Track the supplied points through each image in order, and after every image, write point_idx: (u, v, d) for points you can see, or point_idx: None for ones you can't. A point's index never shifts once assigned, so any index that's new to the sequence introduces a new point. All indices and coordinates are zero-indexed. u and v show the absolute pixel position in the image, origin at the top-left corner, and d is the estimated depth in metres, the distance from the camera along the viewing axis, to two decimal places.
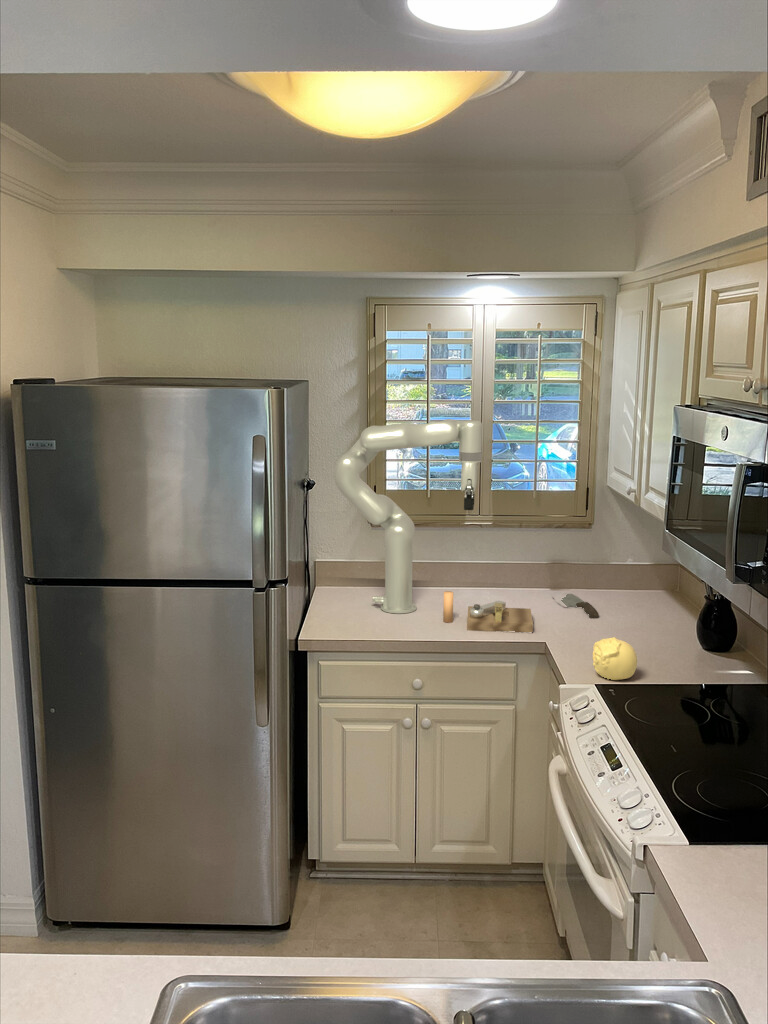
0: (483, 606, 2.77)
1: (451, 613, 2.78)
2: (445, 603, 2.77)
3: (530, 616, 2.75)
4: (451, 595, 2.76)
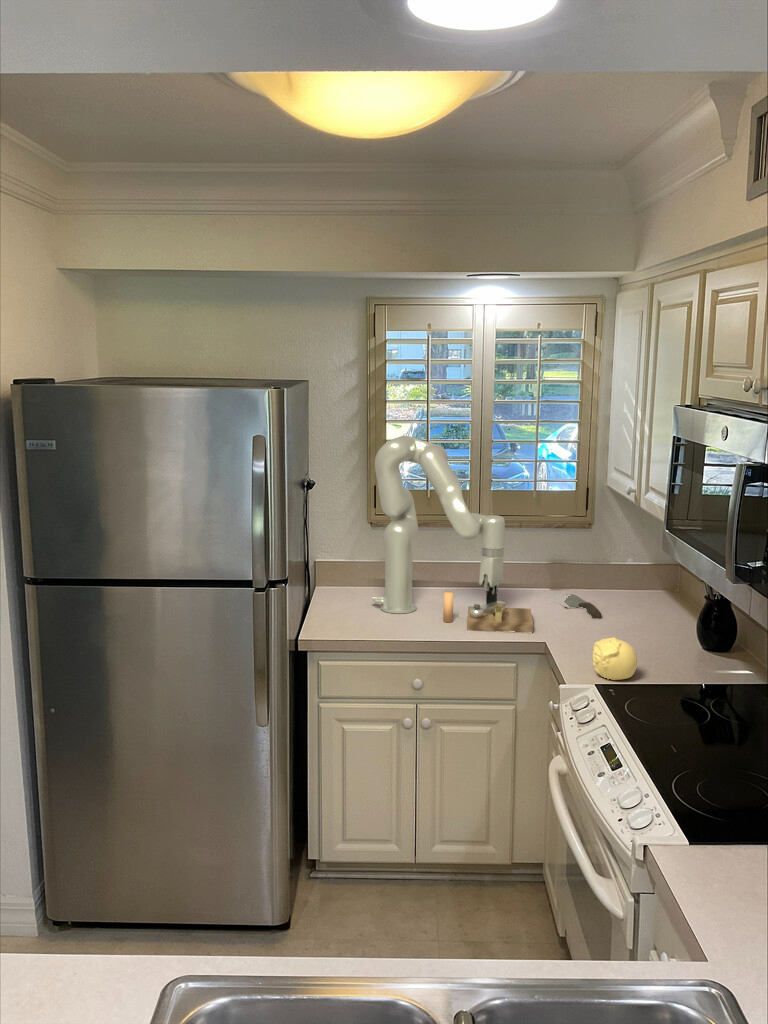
0: (483, 606, 2.77)
1: (451, 613, 2.78)
2: (445, 603, 2.77)
3: (530, 616, 2.75)
4: (451, 595, 2.76)
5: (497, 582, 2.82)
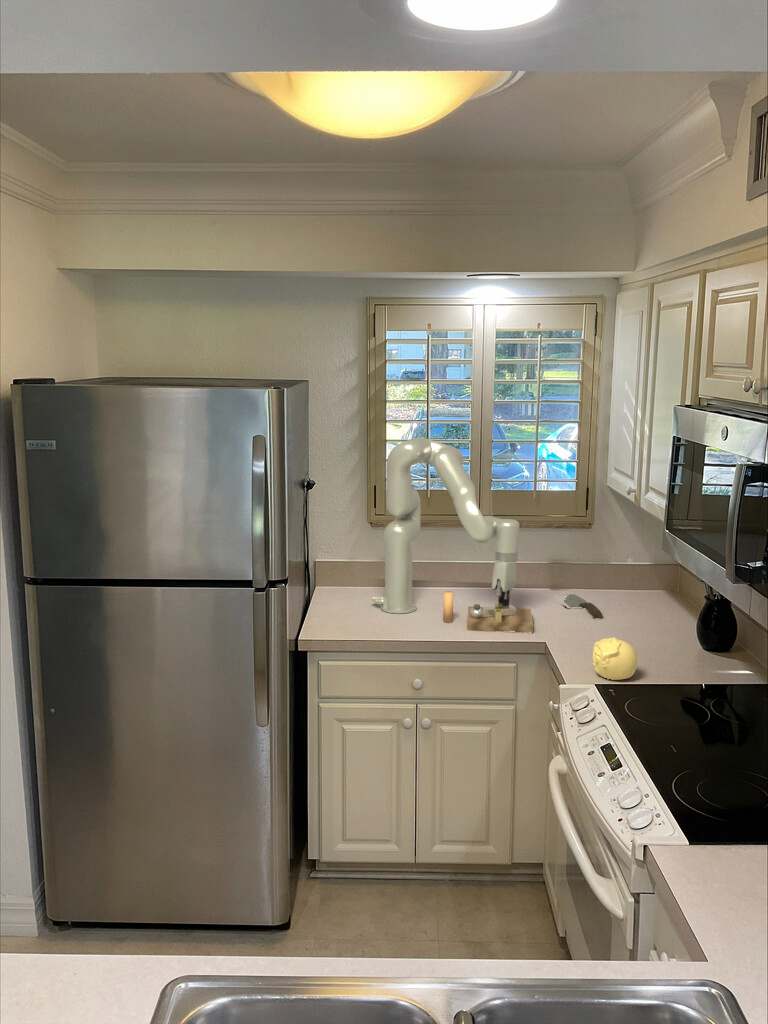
0: (487, 608, 2.75)
1: (451, 613, 2.78)
2: (445, 603, 2.77)
3: (530, 616, 2.75)
4: (451, 595, 2.76)
5: (510, 587, 2.77)
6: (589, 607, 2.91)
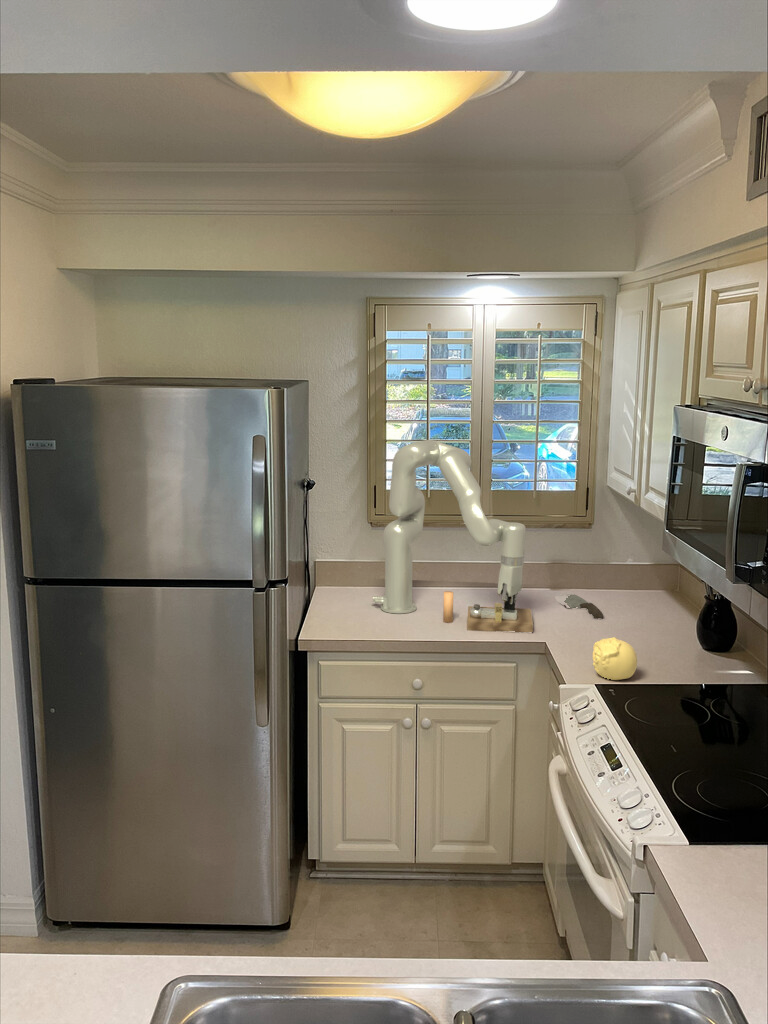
0: (488, 609, 2.74)
1: (451, 613, 2.78)
2: (445, 603, 2.77)
3: (530, 616, 2.75)
4: (451, 595, 2.76)
5: (516, 591, 2.73)
6: (590, 607, 2.90)
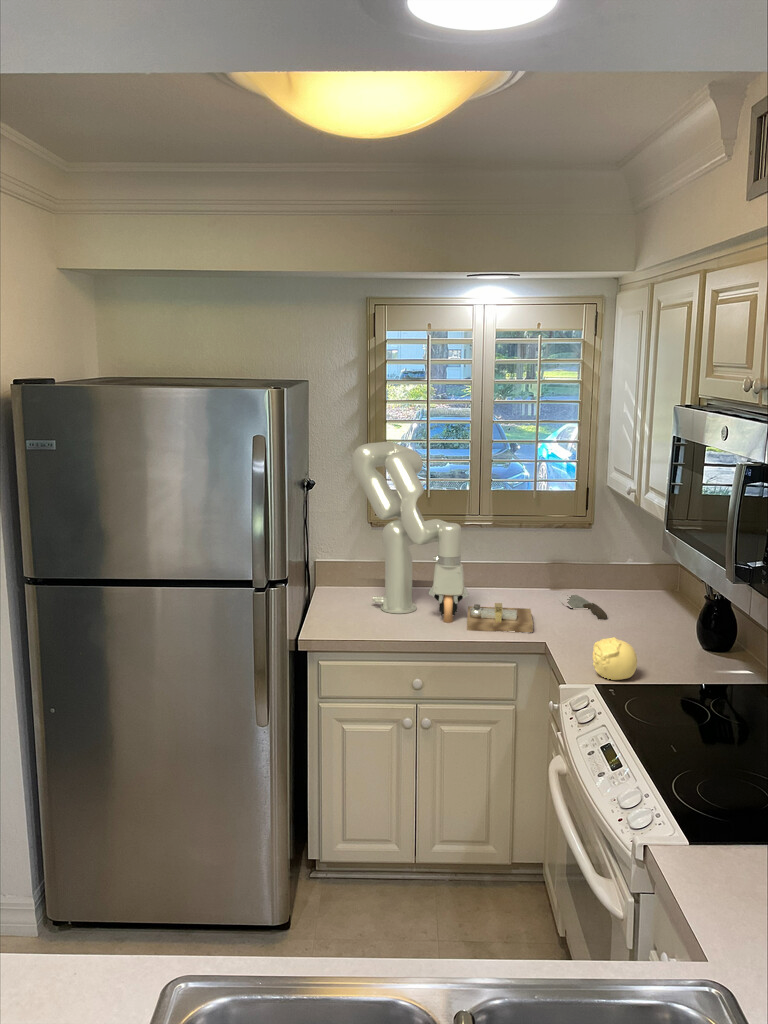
0: (488, 609, 2.74)
1: (451, 613, 2.78)
2: (445, 603, 2.77)
3: (530, 616, 2.75)
4: (451, 595, 2.76)
5: None
6: (593, 608, 2.90)
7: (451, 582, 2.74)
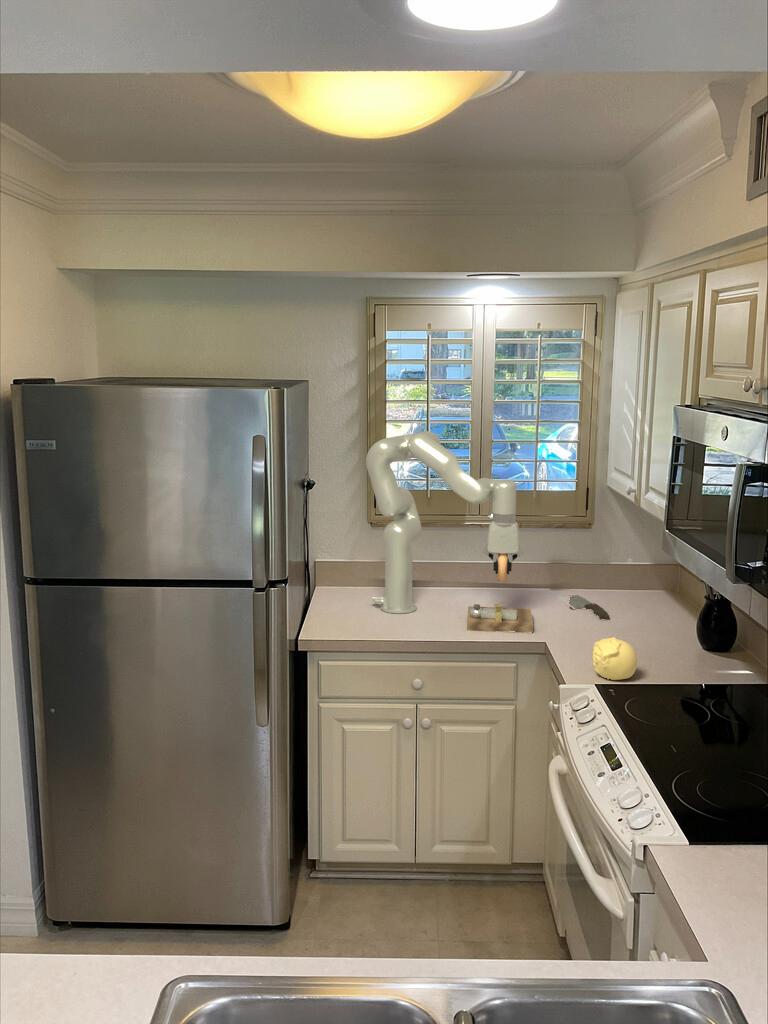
0: (488, 609, 2.74)
1: (505, 572, 2.74)
2: (499, 562, 2.74)
3: (530, 616, 2.75)
4: None
5: None
6: (595, 608, 2.89)
7: (506, 540, 2.71)
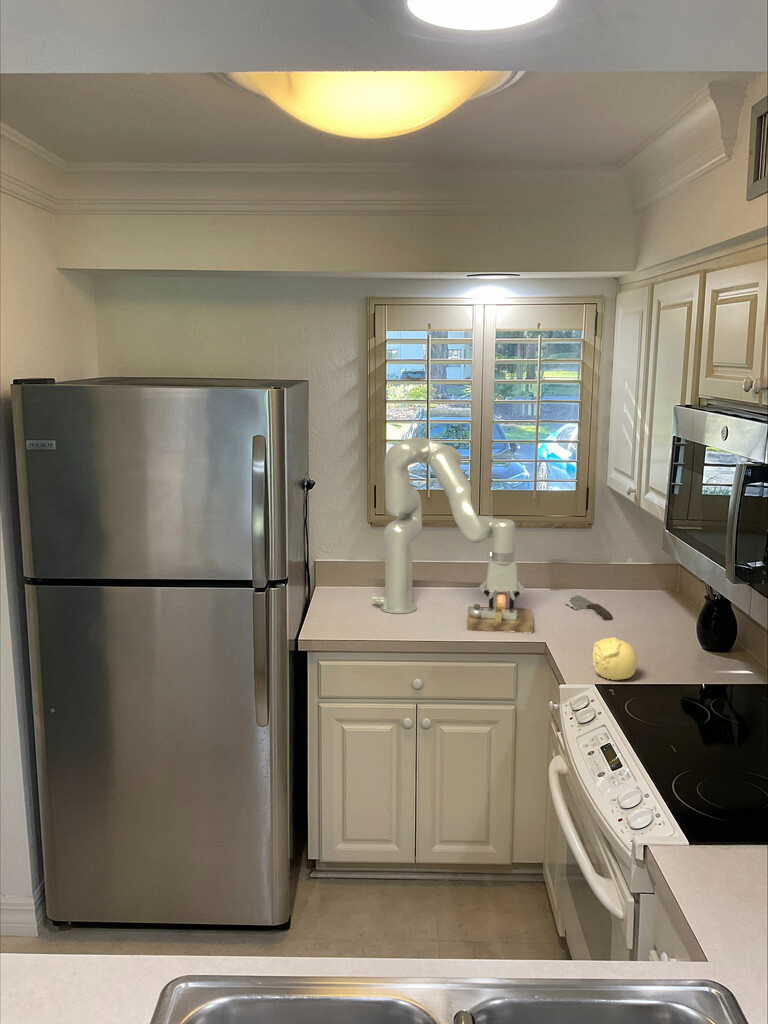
0: (488, 609, 2.74)
1: None
2: None
3: (530, 616, 2.75)
4: (504, 596, 2.76)
5: None
6: (597, 608, 2.89)
7: (505, 578, 2.73)
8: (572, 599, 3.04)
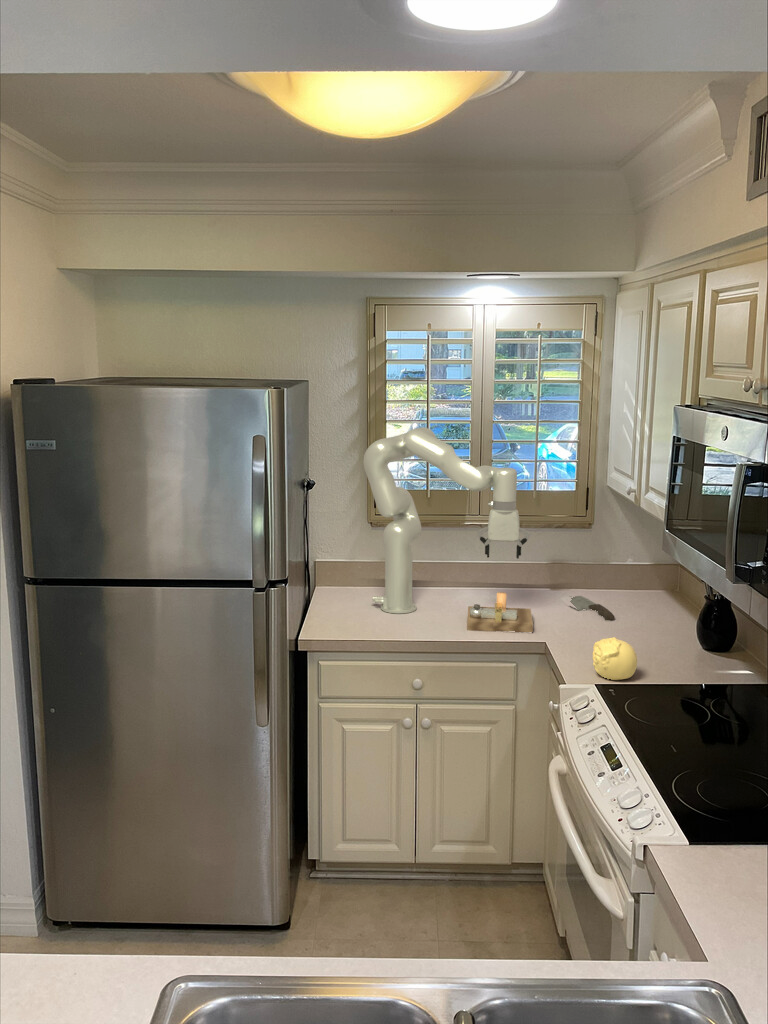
0: (488, 609, 2.74)
1: None
2: None
3: (530, 616, 2.75)
4: (504, 596, 2.76)
5: None
6: (599, 609, 2.89)
7: (506, 527, 2.70)
8: (574, 599, 3.03)
